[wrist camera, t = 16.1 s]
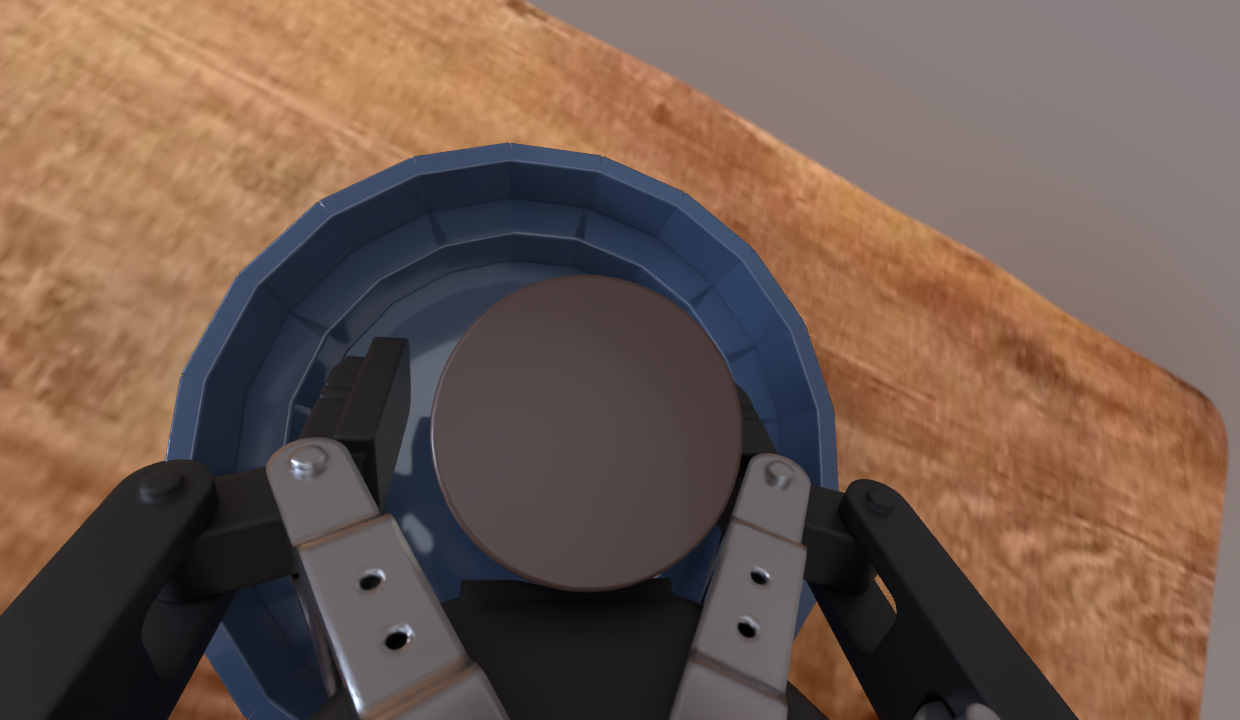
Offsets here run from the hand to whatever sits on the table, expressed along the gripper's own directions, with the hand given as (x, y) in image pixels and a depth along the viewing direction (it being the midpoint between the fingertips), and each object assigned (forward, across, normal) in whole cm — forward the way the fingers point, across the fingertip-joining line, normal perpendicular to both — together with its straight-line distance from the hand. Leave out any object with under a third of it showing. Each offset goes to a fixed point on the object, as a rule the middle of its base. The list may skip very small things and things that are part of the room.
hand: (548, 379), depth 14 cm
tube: (+3, 0, +5) cm, 6 cm away
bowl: (+4, 0, +6) cm, 7 cm away
